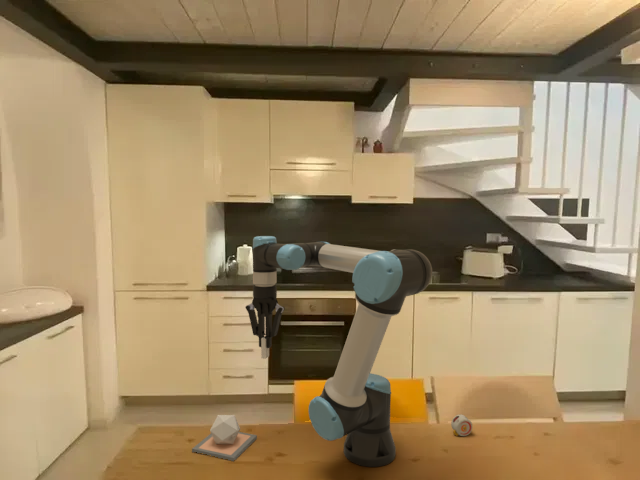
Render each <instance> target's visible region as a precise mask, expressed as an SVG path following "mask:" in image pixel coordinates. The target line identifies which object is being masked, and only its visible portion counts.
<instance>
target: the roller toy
mask: <svg viewBox="0 0 640 480" xmlns="http://www.w3.org/2000/svg"><path fill="white" fill-rule="evenodd" d="M450 423H451V424H450V425H451V428H452V434H453V435H454V436H456V437H457V436H461V437H466V436H469V434H471V433H472V431H473V423H472V421H471V419H469V418H468V417H467V416H466V415H464V414H456V415H455V416H453V418H452V420H451V422H450Z"/></svg>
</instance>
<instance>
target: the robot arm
mask: <svg viewBox="0 0 640 480" xmlns="http://www.w3.org/2000/svg"><path fill="white" fill-rule="evenodd" d="M251 250H252V284H253V286H252V301H251V303H250V304H247V305H246V306H245V309H246V311H247V313H248V317H249V321H250V322H249V323H250V325H251V329H252V334H253V336H257V337H258V347H259V348H261V349H260V350H261V351H260V352H261V353H260V354H261V355H260V356H261V359H263V360H264V359H265V360H266V359H267V358H269V357H270V348H272V343H273V342H272V339H273V338H274V337H276V336H277V335H278V332H279V328H280V322H281V318H282V314H283V313H284V311H285V309H286V308H285V306H282V305H280V304H279V302H278V299H277V296H278V295H277V294H278V292H277V291H278V287H277V286H278V285H276V284H277V281H278V280H277V277H278V276H277V274H278V273H277V269H282V270H283V269H284V270H286V271H291V270H292V271H297V270H299V269H300V268H306V267H320V268H324V269H325V268H326V269H332V270H336V271H342V272H346V273H347V272H348V273H352V278H351V279H352V281H351V282H352V283H353V285H354V286H353V291H354V292H355V295H354V296H355V300H356V301H357V303H358V305H357V308H356V311H355V314H354V316H353V319H352V322H351V326H350V328H349V331H348V335H347V336H346V337H347V338H346V340H345V342H344V343H345V344H344V346H343V349H342V351H341V354H340V357H339V360H338V363H337V367H336V369H335V372H334V375H333V376H331V377H329V378H327V379H326V381H325V384H324V386H323V389H322V392H321V394H320V395H319V396H318V395H317V396H315V397H314V398H313V399H311V400H310V401H309V405H308V417H309V420H310V422H311V426H312V427H313V429H314V430H315V432H316V433H317V434H318V436H319V437H321V438H322V439H324V440H326V441H335V440H337V439H339V440H340V439H342V438H344V437H345V440H344V443H343V454H344V456H345V457H346V459H347V460H348V461H350V462H351V463H353V464H356V465H358V466H361V467H368V468H369V467H370V468H373V467H374V468H377V467H378V468H379V467H383V466H386V465H389V464H391V463H392V462H393V461H394V460H395V458H396V453H397V452H396V444H395V441H394V437H393V435H392V431H391V403H392V402H391V397H392V391H391V390H392V389H391V383H390V381H389V379H388V378H387V377H385V376H383V375H380V374H376V373H372V372H371V371H372V369H373V366H374V363H375V361H376V358H377V355H378V353H379V350H380V348H381V345H382V343H383V340H384V337H385V334H386V332H387V329H388V327H389V324H390V321H391V318H392V317H394V316H397V315H399V314H400V312H401V310H402V308H403V305H404V303H405V300H406V298H407V297H410V296H414V295H417V294H420V293H422V292H423V291H425V290H426V289H427V287H428V286H429V285H430V283H431V281H432V277H433V267H432V263H431V262H430V260H429V258H428V257H427V256H426V255H425V254H424V253H423V252H421V251H418V250H416V249H412V248H411V249H406V248H405V249H397V248H396V249H391V250H390V251H387V250H376V249H368V248H363V247H362V248H361V247H354V246H347V245H345V246H344V245H339V244H331V243H330V242H327V241H316V242H314V241H313V242H298V243H278V242H277V237H275V236H273V235H260V236H259V235H257V236H254V237H253V239H252V247H251ZM274 311H275V314H274V313H273V312H274ZM256 312H257V313H256ZM273 314H274V315H273ZM273 316H274V318H273Z"/></svg>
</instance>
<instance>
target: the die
mask: <svg viewBox="0 0 640 480" xmlns="http://www.w3.org/2000/svg"><path fill="white" fill-rule="evenodd" d="M209 431H210V434H212V436H213V438H214V441H215V443H216V444H233V443H234V441H235V438H236V437H237V435H238V432H240V431H241V427H240V424H239V422H238V420H237V418H236V415H235V414H217V416H216V418H215V420H214V421H213V424H212V425H211V427H210V430H209Z"/></svg>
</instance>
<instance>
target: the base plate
mask: <svg viewBox="0 0 640 480" xmlns="http://www.w3.org/2000/svg"><path fill="white" fill-rule="evenodd" d="M257 439H258V435H257V434H251V433H247V432H241V431H239V432H238V435H237V437H236V438H235V441H234V443H233V444H216V443H215V441H214V438H213V436H212V434H211V433H209V434H208V435H207V436H206V437H204V438H203V439H202V440H201V441H200V442H198V443H197V444H196V445H195V446H193V447H192V448H191V453H194V452H197V453H196V454H198V453H203V454H207V455H211V456H210V457H212V456H215V457H214V458H216V457H218V458H217V459H221V458H223V459H222V460H225V459H228V460H227V461H230V460H231V462H235V461H236V460H237V459H238V458H239V457H240V456H242V454H243V453H244V452H245V451H246V450H247V449H248V448H249V447H250V445H252V444H253V443H254V442H255V441H256V440H257ZM203 454H202V455H203ZM207 455H206V456H207ZM234 460H235V461H234Z"/></svg>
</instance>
